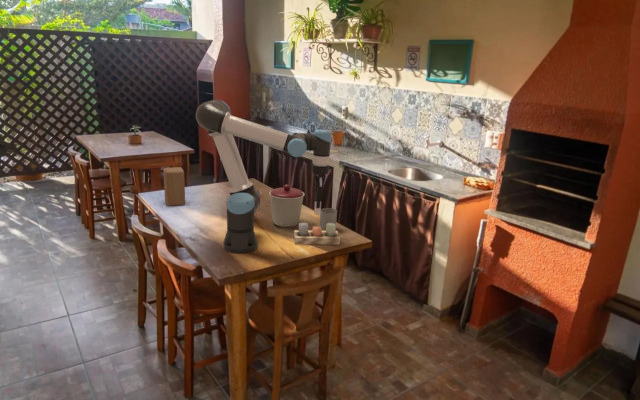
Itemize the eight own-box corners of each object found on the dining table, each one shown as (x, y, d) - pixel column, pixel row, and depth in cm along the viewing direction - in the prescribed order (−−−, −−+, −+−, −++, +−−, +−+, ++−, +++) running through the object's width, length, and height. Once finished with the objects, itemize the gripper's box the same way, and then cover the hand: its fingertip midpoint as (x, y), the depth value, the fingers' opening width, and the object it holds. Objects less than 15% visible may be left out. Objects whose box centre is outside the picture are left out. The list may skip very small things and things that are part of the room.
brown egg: (312, 239, 211) (312, 229, 209) (311, 236, 215) (312, 226, 214) (321, 239, 211) (322, 229, 210) (320, 236, 216) (321, 226, 214)
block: (164, 201, 258) (163, 167, 252) (182, 200, 262) (181, 166, 256) (167, 206, 249) (165, 171, 244) (185, 205, 254) (184, 170, 248)
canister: (261, 225, 229) (261, 185, 223) (280, 216, 245) (281, 178, 239) (291, 232, 221) (293, 191, 215) (309, 222, 237) (311, 183, 231)
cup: (317, 227, 231) (318, 208, 228) (331, 225, 234) (333, 207, 231) (323, 232, 223) (324, 213, 221) (338, 231, 226) (339, 212, 223)
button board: (294, 243, 208) (295, 237, 207) (293, 236, 217) (294, 230, 216) (339, 244, 210) (340, 238, 209) (337, 236, 219) (337, 230, 219)
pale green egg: (326, 236, 211) (327, 226, 210) (325, 232, 215) (325, 222, 214) (335, 236, 212) (336, 226, 210) (334, 232, 216) (335, 223, 214)
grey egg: (298, 235, 210) (299, 225, 208) (298, 232, 214) (298, 222, 212) (308, 235, 210) (308, 225, 209) (307, 232, 214) (307, 222, 213)
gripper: (330, 168, 197) (326, 218, 204) (327, 161, 210) (323, 209, 216) (313, 167, 196) (310, 218, 203) (311, 161, 209) (308, 209, 216)
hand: (317, 213), depth 210 cm, fingers closed
